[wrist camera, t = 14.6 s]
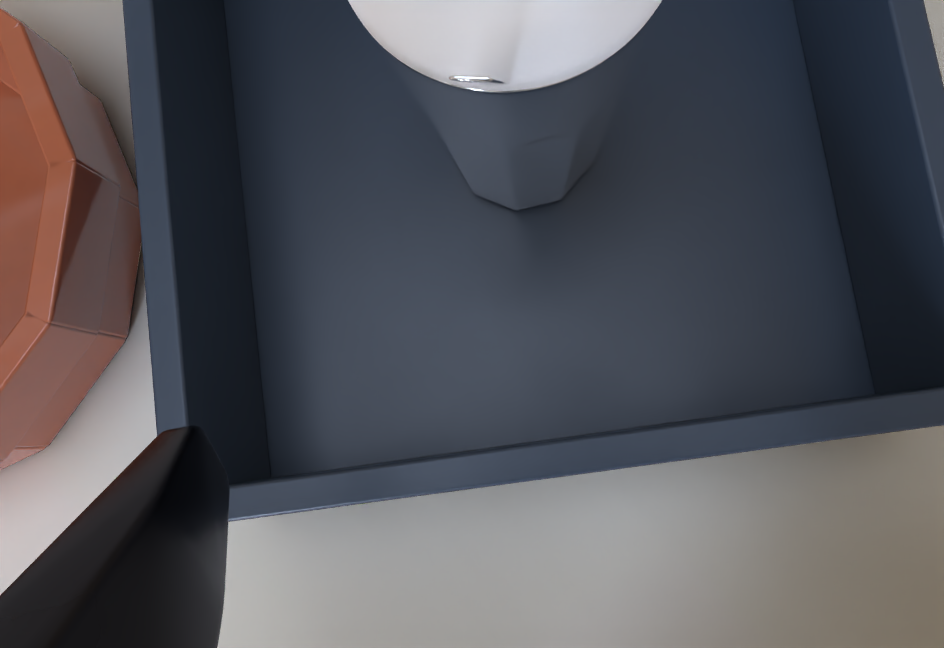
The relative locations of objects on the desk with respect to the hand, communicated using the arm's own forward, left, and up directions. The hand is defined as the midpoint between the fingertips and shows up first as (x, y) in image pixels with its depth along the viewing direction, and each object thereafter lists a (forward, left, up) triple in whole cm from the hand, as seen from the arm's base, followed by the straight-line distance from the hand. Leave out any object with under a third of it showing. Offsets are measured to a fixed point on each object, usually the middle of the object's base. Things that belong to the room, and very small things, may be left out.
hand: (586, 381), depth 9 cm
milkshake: (+4, +4, -8) cm, 10 cm away
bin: (+4, +4, -9) cm, 10 cm away
